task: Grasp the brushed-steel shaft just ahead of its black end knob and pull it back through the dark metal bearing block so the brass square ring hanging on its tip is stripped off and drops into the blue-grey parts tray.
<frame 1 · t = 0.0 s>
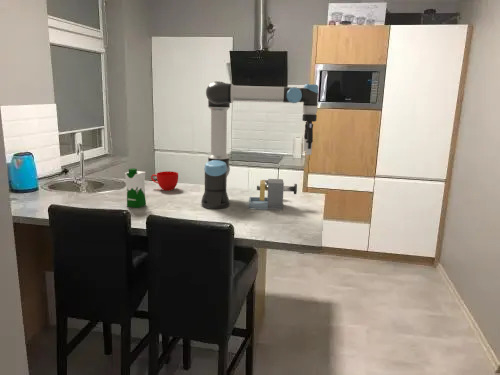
hand: (307, 152, 221), 28 cm above the counter, fingers open, 13 cm apart
ceramic cup: (164, 189, 247), on the counter
milk carton: (136, 206, 211), on the counter
brass ring: (262, 190, 215), point 9 cm above the counter, touching shaft
parts tray: (258, 205, 217), on the counter
bearing block: (274, 206, 217), on the counter
mechanical component: (268, 197, 234), on the counter
shaft: (276, 188, 214), point 10 cm above the counter, slide at 0.0 cm, touching brass ring
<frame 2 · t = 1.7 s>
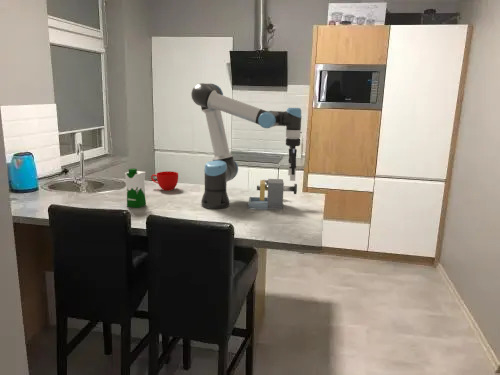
hand: (291, 178, 213), 16 cm above the counter, fingers open, 13 cm apart
nothing on the counter moved.
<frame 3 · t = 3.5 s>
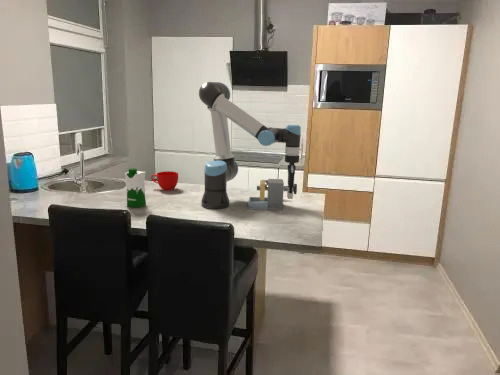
hand: (289, 197, 215), 5 cm above the counter, fingers closed on shaft, 3 cm apart
shaft: (276, 188, 214), point 10 cm above the counter, slide at 0.0 cm, touching brass ring, gripper
everything else where it was.
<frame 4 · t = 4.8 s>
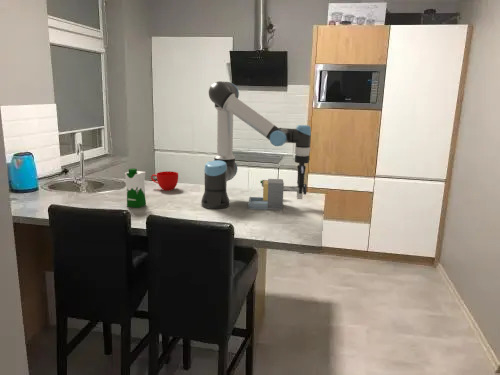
hand: (299, 198, 215), 5 cm above the counter, fingers closed on shaft, 3 cm apart
brass ring: (265, 190, 215), point 9 cm above the counter, touching bearing block
shaft: (286, 188, 214), point 10 cm above the counter, slide at 5.1 cm, touching gripper
everything else where it was.
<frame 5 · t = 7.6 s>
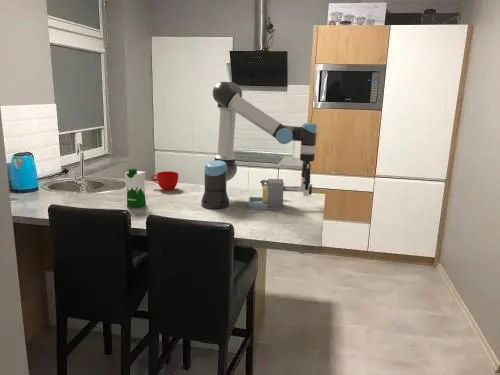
hand: (304, 192, 214), 8 cm above the counter, fingers open, 13 cm apart
brass ring: (264, 195, 215), point 6 cm above the counter, touching parts tray
shaft: (291, 188, 214), point 10 cm above the counter, slide at 7.9 cm
everything else where it was.
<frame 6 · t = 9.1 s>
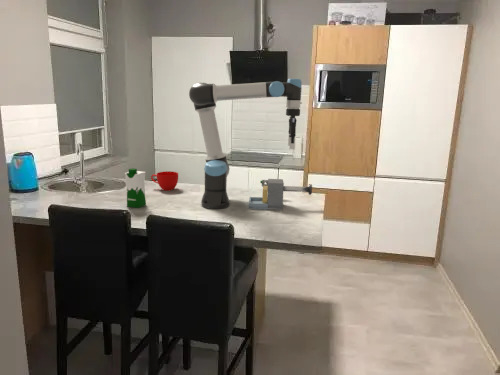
hand: (291, 147, 221), 31 cm above the counter, fingers open, 13 cm apart
nothing on the counter moved.
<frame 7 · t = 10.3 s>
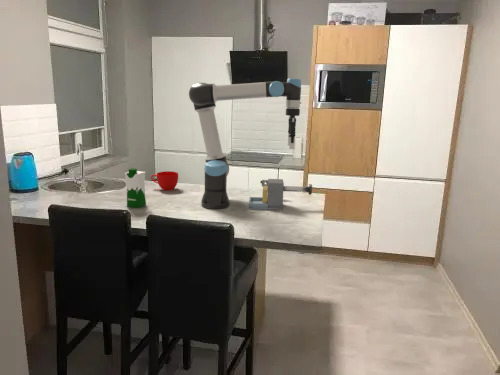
hand: (290, 147, 221), 31 cm above the counter, fingers open, 13 cm apart
nothing on the counter moved.
at the end: shaft slide at 7.9 cm; brass ring point 5.7 cm above the counter; brass ring inside the target area on the parts tray (3.5 cm from its centre), point 5.7 cm above the parts tray's base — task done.
